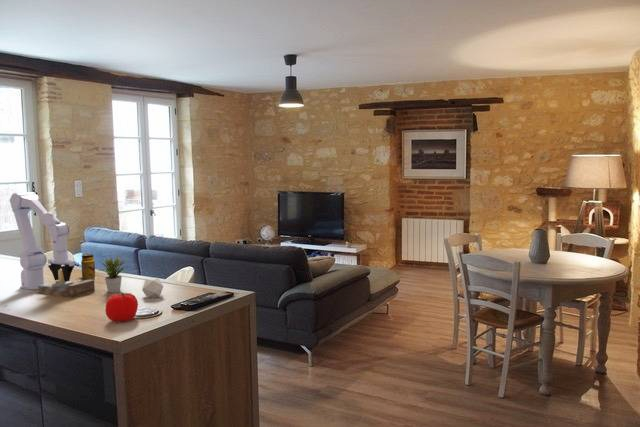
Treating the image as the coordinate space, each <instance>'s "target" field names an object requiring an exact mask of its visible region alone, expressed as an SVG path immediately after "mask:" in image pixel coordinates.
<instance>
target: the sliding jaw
mask: <svg viewBox="0 0 640 427" xmlns="http://www.w3.org/2000/svg"><path fill="white" fill-rule="evenodd" d="M58 277H59V283H56V282H55V283H52V284H51V285H52V286H56V287H62V288H67V285H70V284H73V282H74V281H67V282H65V281H64V276H63V272H62V269H60V270H58Z"/></svg>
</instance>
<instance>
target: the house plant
mask: <svg viewBox="0 0 640 427" xmlns="http://www.w3.org/2000/svg"><path fill="white" fill-rule="evenodd" d="M118 256H119V254H117V256H116V258H114V259H115V260H114V262H113V258H112V257H111V255H109V258H110V259H108V258H107V257H104V260H105V261H104V262H103V261H99V262H100V263H101V264H102V265H103V266H104V267H105V269H98V270H97V271H99V272H100V271H101V272H105V273H107V276H106V277H104V280H105V285H106V289H107V293H117V292H120V291H121V287H122V286H121V285H122V277H123V276H121V275H119V274H120V273H122V271H123V272H126V273H127V271H126V267H127V265H126V266H122V265H123V264H127V263H128V262H127V261H128V260H129V257H128V258H124V259H122V260H121V261H120V259H121V258H122V257H121V256H119V257H118ZM121 266H122V267H121Z"/></svg>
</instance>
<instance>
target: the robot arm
mask: <svg viewBox="0 0 640 427" xmlns="http://www.w3.org/2000/svg"><path fill="white" fill-rule="evenodd" d="M39 198H40V197H39V196H38V194H36V192H34V191H30V192H28V191H27V192H14V193H12V194H11V196H10V199H9V204H10V206H11V209H12V213H13V216H14V219H15V222H16V226H17V229H18V231H19V236H20V239H21V243H22V246H23V250H22V251H21V252H20V254H19V264H20V266H21V267H22V270H21V272H20V282H21V286H20V287H19V288H20V289H25V290H31V291H32V290H34V291H35V290H37V289H38V285H47V286H50V285H49V284H45V279H44V268H45V266H46V265H47V263H48V268H49V270H50V271H51V274H52V276H53V279H54V281H58V280H59V277H58V270H61V269H62V272H63V276H64V281H65V282H67V281H68V282H71V281H70V280H71V275H72V272H73V270H74V268H75V266H76V265H75V260H71V259H69V256H68V255H69V254H68V239H67V238H68V237H67V236H68V235H69V233H70V227H69V225H68V224H67V223H66V222H62V221H60V220H59V219H58V217H56V216H55V214H54V213H53V212H49V211H48V210H46V208H45V207H44V206H43V205H42V203H41V202H40V200H39ZM30 211H33V212H35V213H36V214H37V216H39V217H40V222H41V223H42V224H43V225H44V226H45V227H46V229H47V230H48V235H49V236H50V240H51V242H52V255H53V258H47V256H46V254H45V252H44V249H42V248H41V247H39V246H38V245H37V242H36V239H35V235H34V231H33V228H32V224H31V221H30V216H29V213H30Z"/></svg>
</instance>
